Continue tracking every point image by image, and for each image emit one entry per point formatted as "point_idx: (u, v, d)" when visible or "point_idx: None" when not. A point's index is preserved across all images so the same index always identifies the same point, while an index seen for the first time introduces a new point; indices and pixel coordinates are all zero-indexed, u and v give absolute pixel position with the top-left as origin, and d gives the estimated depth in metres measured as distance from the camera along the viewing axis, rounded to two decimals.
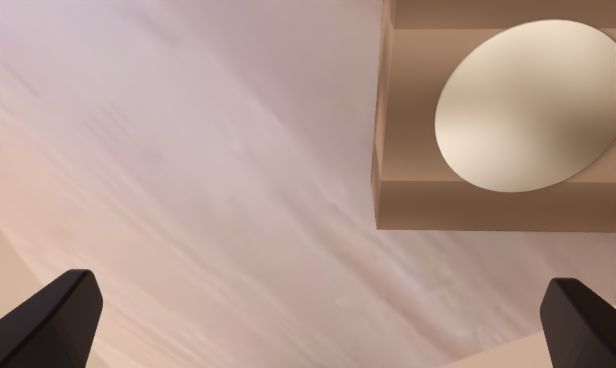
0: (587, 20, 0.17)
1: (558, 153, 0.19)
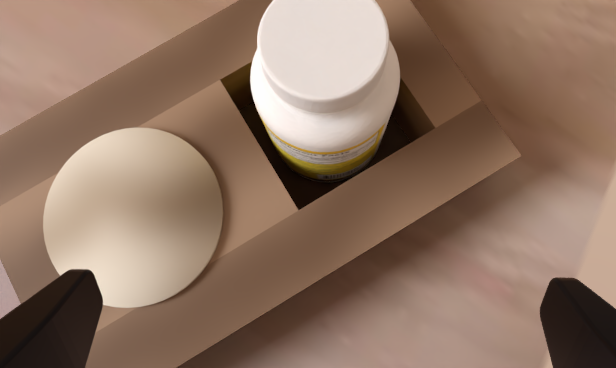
0: (120, 128, 0.20)
1: (184, 230, 0.19)
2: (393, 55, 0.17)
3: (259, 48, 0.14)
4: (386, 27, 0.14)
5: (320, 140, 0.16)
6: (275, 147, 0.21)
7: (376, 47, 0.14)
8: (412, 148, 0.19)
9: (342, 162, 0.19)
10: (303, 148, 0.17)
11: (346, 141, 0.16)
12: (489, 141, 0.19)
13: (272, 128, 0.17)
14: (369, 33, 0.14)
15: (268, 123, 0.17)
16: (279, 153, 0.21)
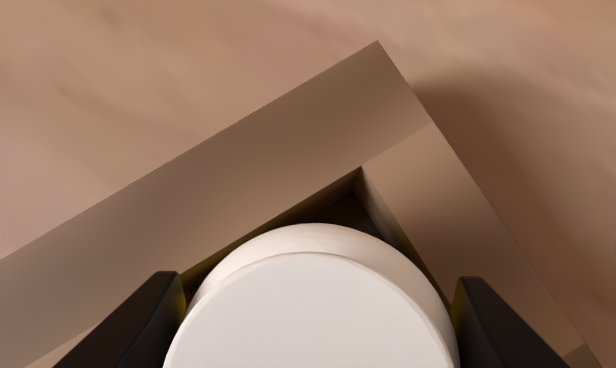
0: None
1: None
2: (450, 342, 0.08)
3: None
4: None
5: None
6: None
7: None
8: None
9: None
10: None
11: None
12: None
13: None
14: None
15: None
16: None
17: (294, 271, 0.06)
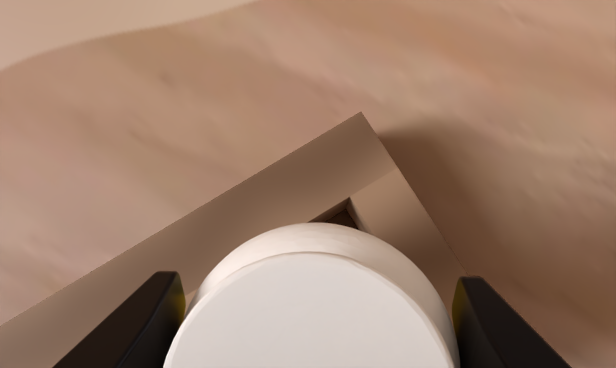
0: None
1: None
2: (449, 342, 0.08)
3: None
4: None
5: None
6: None
7: None
8: None
9: None
10: None
11: None
12: None
13: None
14: None
15: None
16: None
17: (294, 270, 0.06)
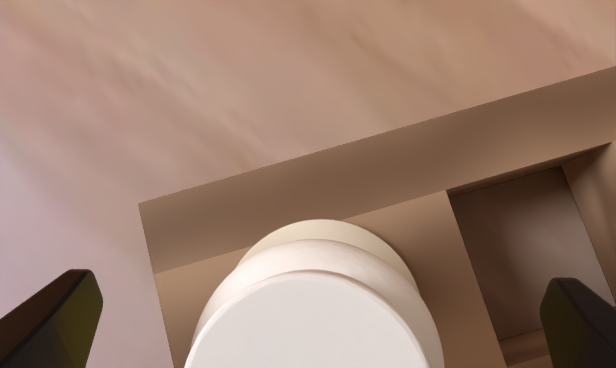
0: (324, 216, 0.18)
1: None
2: (434, 348, 0.09)
3: None
4: None
5: None
6: None
7: None
8: None
9: None
10: None
11: None
12: None
13: None
14: None
15: None
16: None
17: (296, 289, 0.07)
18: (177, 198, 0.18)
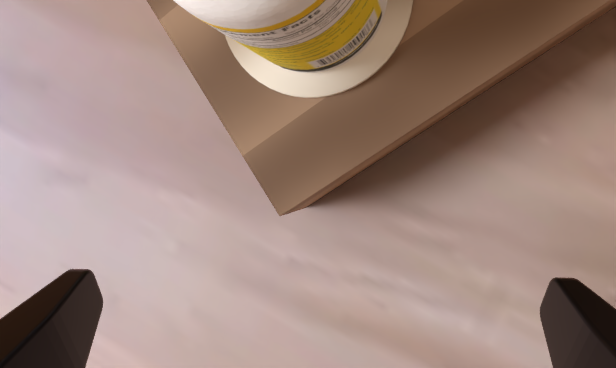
0: None
1: None
2: None
3: None
4: None
5: (260, 5, 0.10)
6: None
7: None
8: None
9: (324, 32, 0.13)
10: (248, 28, 0.11)
11: None
12: None
13: (192, 13, 0.11)
14: None
15: (184, 7, 0.11)
16: None
17: None
18: None
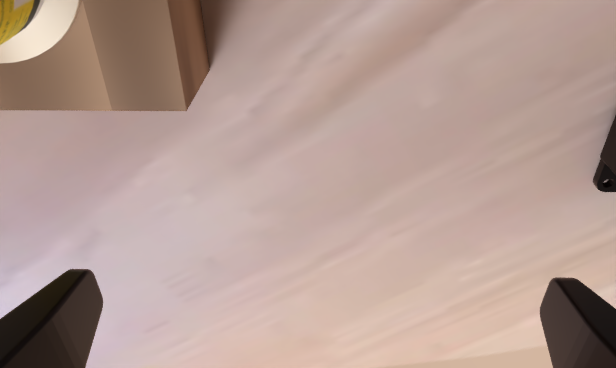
0: None
1: None
2: None
3: None
4: None
5: None
6: None
7: None
8: None
9: None
10: None
11: None
12: None
13: None
14: None
15: None
16: None
17: None
18: None
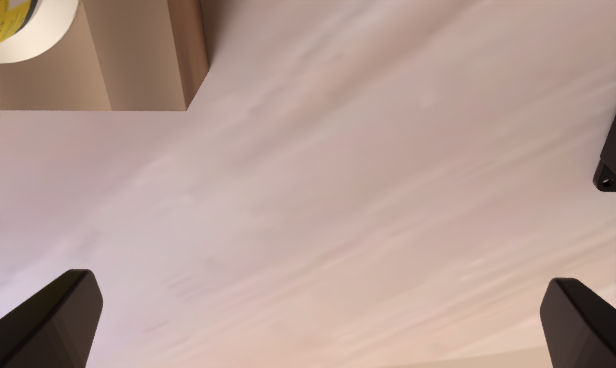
0: None
1: None
2: None
3: None
4: None
5: None
6: None
7: None
8: None
9: None
10: None
11: None
12: None
13: None
14: None
15: None
16: None
17: None
18: None
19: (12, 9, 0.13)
